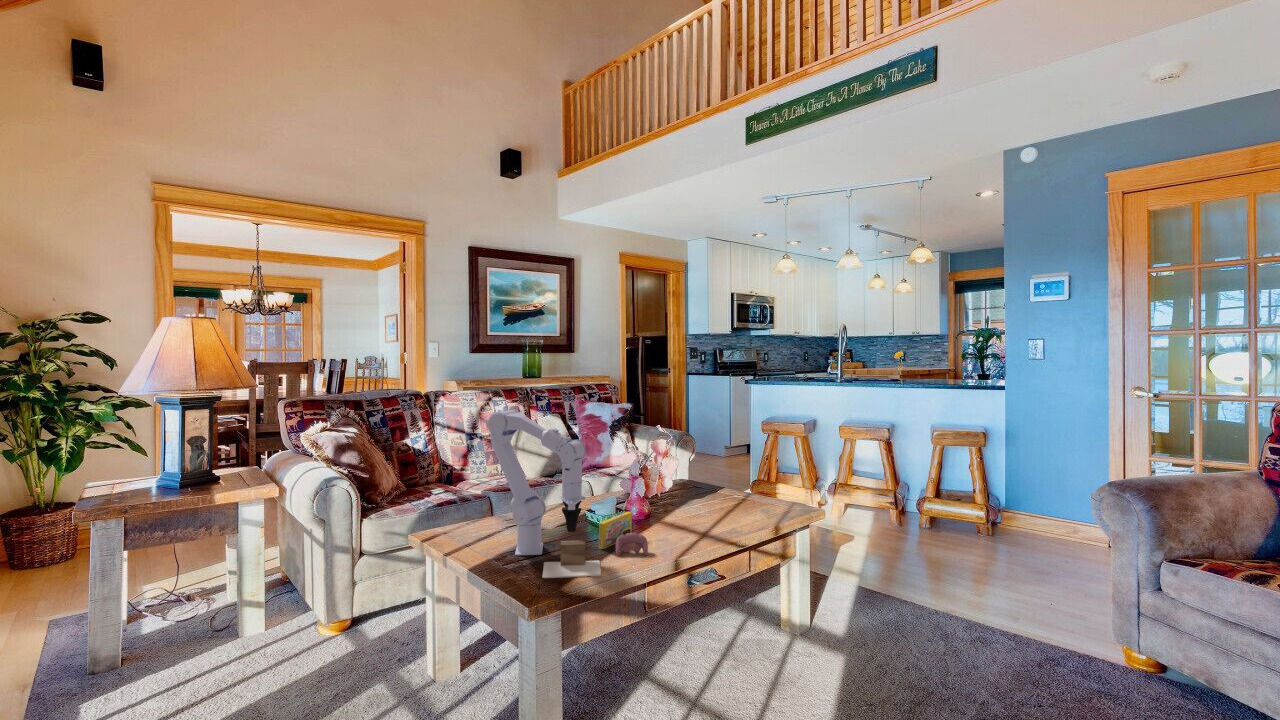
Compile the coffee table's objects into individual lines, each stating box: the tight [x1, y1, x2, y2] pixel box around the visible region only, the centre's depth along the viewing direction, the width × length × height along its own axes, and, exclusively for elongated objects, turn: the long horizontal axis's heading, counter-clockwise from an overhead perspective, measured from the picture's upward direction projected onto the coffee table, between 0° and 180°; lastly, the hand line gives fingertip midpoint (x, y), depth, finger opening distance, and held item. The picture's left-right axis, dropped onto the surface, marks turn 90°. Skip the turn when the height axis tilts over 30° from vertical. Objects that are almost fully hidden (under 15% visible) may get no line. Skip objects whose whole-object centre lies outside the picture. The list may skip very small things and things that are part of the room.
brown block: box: [560, 539, 586, 566], centre depth 177 cm, size 4×7×6 cm, turn 96°
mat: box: [541, 560, 602, 579], centre depth 173 cm, size 11×16×1 cm
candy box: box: [597, 511, 633, 550], centre depth 197 cm, size 16×2×8 cm, turn 147°
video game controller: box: [614, 532, 649, 557], centre depth 187 cm, size 10×5×7 cm, turn 93°
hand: (571, 527), depth 181 cm, fingers open, 7 cm apart
